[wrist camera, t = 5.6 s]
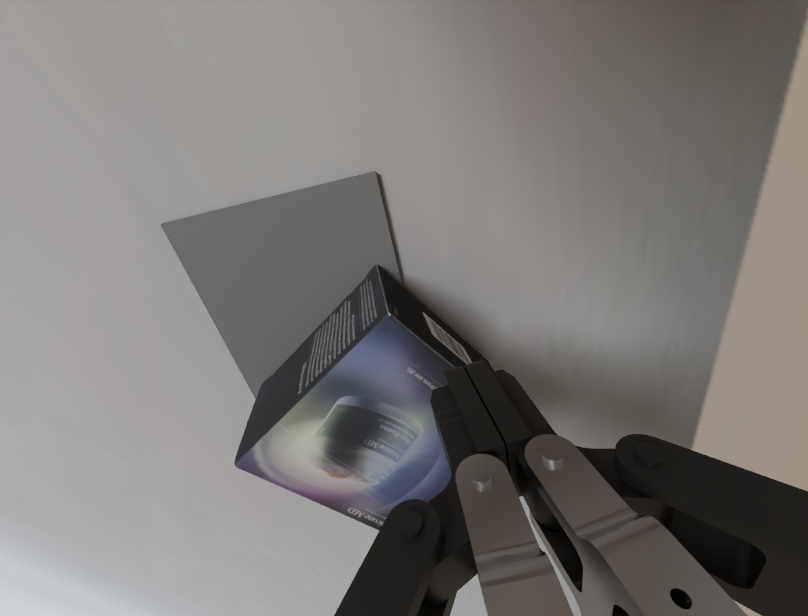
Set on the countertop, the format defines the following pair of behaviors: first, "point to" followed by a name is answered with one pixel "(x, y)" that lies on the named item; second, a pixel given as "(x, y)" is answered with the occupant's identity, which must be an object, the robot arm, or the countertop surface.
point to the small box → (358, 406)
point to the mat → (283, 265)
